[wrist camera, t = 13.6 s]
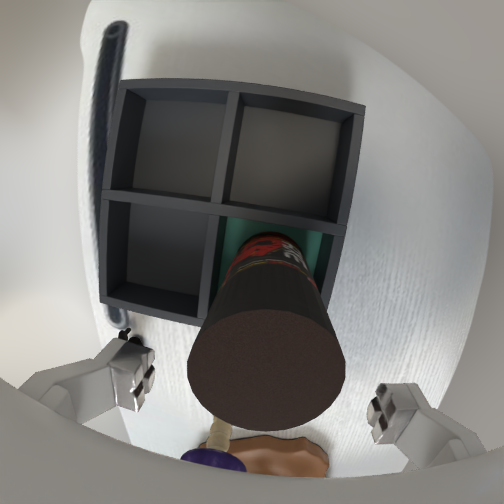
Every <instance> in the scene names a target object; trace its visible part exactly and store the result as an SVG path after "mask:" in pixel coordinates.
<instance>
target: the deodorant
mask: <svg viewBox="0 0 504 504" xmlns="http://www.w3.org/2000/svg"><path fill="white" fill-rule="evenodd" d="M187 377H188V380H189V383H190V386H191V389H192V392H193V393H194V395H195V396H196V398H197V399H198V400H199V402H200V403H201V405H202V406H203V407H205V408H206V409H207V410H208V411H209V412H210V413H212V414H213V415H214V416H215V417H217V418H219V419H221V420H223V421H225V422H226V423H228V424H230V425H233V426H237V427H240V428H244V429H247V430H255V431H279V430H286V429H290V428H293V427H297V426H300V425H303V424H305V423H307V422H309V421H311V420H313V419H315V418H316V417H318V416H319V415H320V414H322V413H323V412H324V411H325V410H326V409H328V408H329V407H330V406H331V405H332V403H333V402H334V401H335V399H336V398H337V396H338V395H339V394H340V392H341V389H342V386H343V383H344V380H345V359H344V356H343V353H342V350H341V347H340V344H339V342H338V339H337V337H336V334H335V331H334V329H333V326H332V324H331V321H330V319H329V316H328V313H327V311H326V308H325V306H324V303H323V301H322V298H321V296H320V294H319V291H318V289H317V286H316V284H315V281H314V279H313V277H312V274H311V272H310V269H309V267H308V265H307V262H306V260H305V257H304V255H303V253H302V250H301V248H300V247H299V246H298V244H297V243H296V242H295V241H294V240H293V239H291V238H290V237H289V236H287V235H284V234H282V233H279V232H272V231H267V232H260V233H258V234H255V235H253V236H251V237H250V238H248V239H247V240H246V241H245V242H244V243H243V244H242V245H241V247H240V248H239V249H238V251H237V253H236V256H235V258H234V260H233V262H232V264H231V266H230V268H229V270H228V272H227V274H226V276H225V278H224V281H223V283H222V285H221V287H220V289H219V291H218V293H217V295H216V297H215V299H214V301H213V304H212V306H211V308H210V310H209V312H208V314H207V316H206V318H205V320H204V323H203V325H202V327H201V329H200V331H199V333H198V335H197V337H196V340H195V342H194V344H193V346H192V349H191V352H190V355H189V358H188V361H187Z"/></svg>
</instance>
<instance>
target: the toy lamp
mask: <svg viewBox="0 0 504 504" xmlns="http://www.w3.org/2000/svg"><path fill="white" fill-rule="evenodd" d="M213 420H214V423H213V424H212V426H211V429H210V436H209V438H208V440H207V444H206V446H207V448H198V449H193V450H189V451H187V452H186V453H184V454H183V455H182V457H181V459H180V460H184V461H188V462H192V463H197V464H201V465H206V466H211V467H216V468H222V469H227V470H233V471H240V472H247V469H246V466H245V465H244V464H243V462H242V461H241V460H240V459H238V458H237V457H235V456H233V455H232V454H230V453H227V451H228V449H229V446H230V441H229V438H230V436H231V434H232V425H230V424H228V423H226V422H225V421H223V420H221V419H219V418H217V417H215V416H214V418H213Z"/></svg>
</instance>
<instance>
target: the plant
mask: <svg viewBox="0 0 504 504" xmlns="http://www.w3.org/2000/svg"><path fill="white" fill-rule="evenodd" d="M206 444H207V443H203V444H201V445H200V447H199V448H207V446H206ZM227 453H230V454H232V455H233V456H235V457H237V458H238V459H240V460H241V461H242V462H243V464H244V465H245V466H246V469H247V473H255V474H263V475H274V476H287V477H309V478H326V471H327V469H328V467H329V460H328V455H327V454H326V453H324V452H323V450H322V449H321V448H320V447H319V446H318V445H316V444H313V443H311V442H310V441H309V440H307V439H306V438H305V437H301V438H298V439H294V440H282V439H277V438H274V437H271V436H258V437H253V438H247V439H240V440H234V441H230V446H229V449H228V451H227Z"/></svg>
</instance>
